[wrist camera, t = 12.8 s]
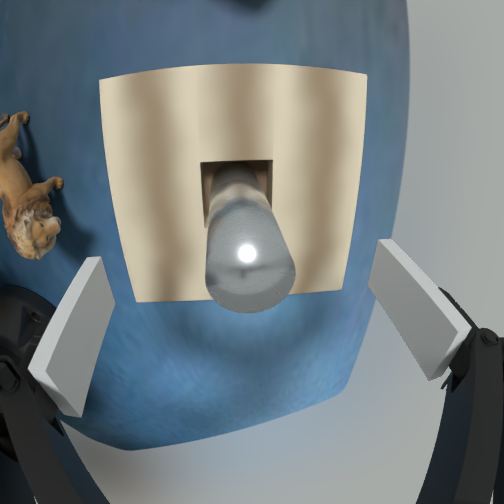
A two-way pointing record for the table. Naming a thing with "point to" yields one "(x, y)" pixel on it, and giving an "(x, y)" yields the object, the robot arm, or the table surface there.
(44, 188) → the lion figurine
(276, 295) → the metal peg
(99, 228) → the table surface
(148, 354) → the table surface
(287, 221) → the maple block
